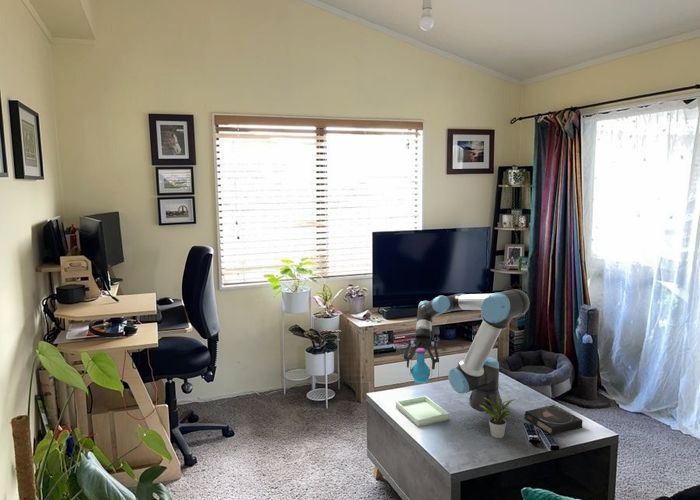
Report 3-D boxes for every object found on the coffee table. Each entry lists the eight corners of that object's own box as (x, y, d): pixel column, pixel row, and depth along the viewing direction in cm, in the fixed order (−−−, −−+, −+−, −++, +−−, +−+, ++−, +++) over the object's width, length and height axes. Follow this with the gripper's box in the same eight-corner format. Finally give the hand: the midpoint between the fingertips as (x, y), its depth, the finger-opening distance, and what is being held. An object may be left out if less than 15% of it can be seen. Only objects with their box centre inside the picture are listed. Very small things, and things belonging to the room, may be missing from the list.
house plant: (502, 423, 228) (503, 388, 225) (523, 437, 215) (524, 400, 213) (475, 429, 223) (475, 393, 220) (495, 444, 210) (495, 406, 207)
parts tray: (448, 419, 232) (448, 413, 232) (417, 426, 226) (417, 420, 226) (425, 401, 251) (425, 395, 251) (395, 407, 246) (395, 401, 245)
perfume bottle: (432, 383, 237) (432, 352, 234) (412, 384, 236) (412, 353, 234) (428, 375, 246) (428, 345, 244) (409, 376, 245) (409, 346, 243)
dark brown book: (524, 419, 232) (524, 411, 231) (554, 412, 238) (554, 404, 237) (550, 436, 216) (551, 427, 216) (582, 428, 222) (582, 419, 222)
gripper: (447, 335, 250) (444, 379, 237) (402, 333, 256) (397, 376, 243) (446, 328, 244) (443, 373, 232) (400, 326, 250) (395, 369, 237)
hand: (419, 374), depth 237 cm, fingers closed on perfume bottle, 9 cm apart
